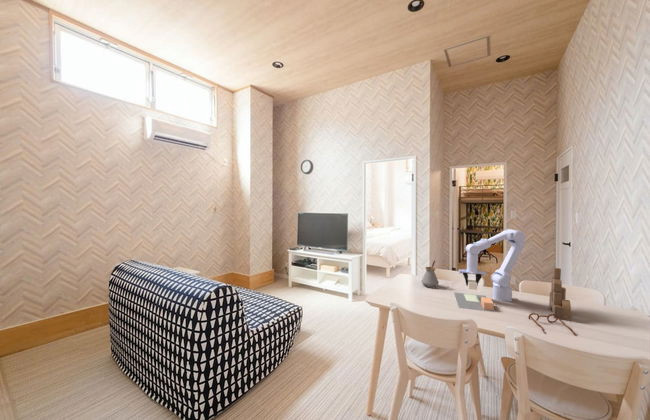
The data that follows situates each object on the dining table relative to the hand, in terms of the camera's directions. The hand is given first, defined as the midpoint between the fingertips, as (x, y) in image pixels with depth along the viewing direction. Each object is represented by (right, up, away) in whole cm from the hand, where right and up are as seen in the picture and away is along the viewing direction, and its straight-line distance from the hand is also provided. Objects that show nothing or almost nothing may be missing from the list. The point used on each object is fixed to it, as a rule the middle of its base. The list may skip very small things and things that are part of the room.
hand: (471, 285), depth 161 cm
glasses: (+20, -12, -34) cm, 41 cm away
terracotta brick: (+2, -9, -12) cm, 15 cm away
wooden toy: (+36, -10, -20) cm, 42 cm away
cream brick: (0, -1, 0) cm, 1 cm away
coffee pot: (-13, -7, +29) cm, 33 cm away
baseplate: (-2, -9, -5) cm, 10 cm away
